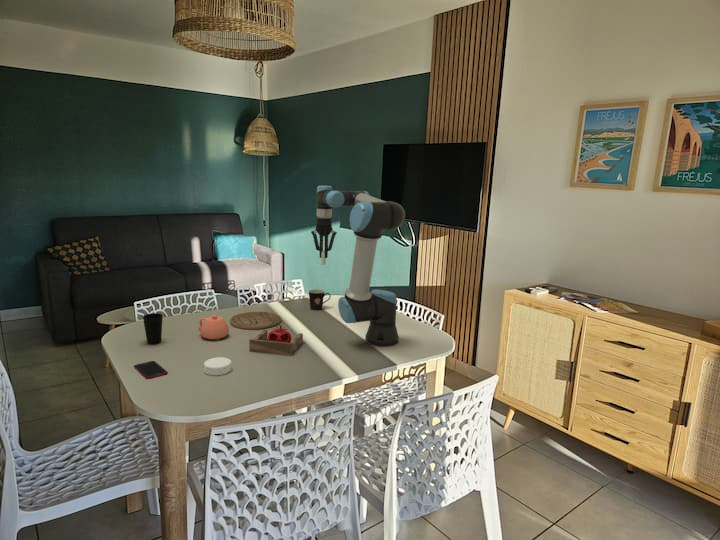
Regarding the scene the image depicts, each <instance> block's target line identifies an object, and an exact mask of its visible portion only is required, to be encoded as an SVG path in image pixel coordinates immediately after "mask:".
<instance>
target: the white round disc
mask: <svg viewBox="0 0 720 540" xmlns="http://www.w3.org/2000/svg"><path fill="white" fill-rule="evenodd" d="M232 369H233V368H232V360H231V359H229V358H227V357H222V356H221V357H213V358H212V357H211V358H209V359H207V360H205V361H204V364H203V371H204V373H205V374H207V375H209V376H224V375H226V374H228V373H230V372H231V371H232Z"/></svg>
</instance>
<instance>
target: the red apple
mask: <svg viewBox="0 0 720 540" xmlns="http://www.w3.org/2000/svg"><path fill="white" fill-rule="evenodd" d="M271 330H272V331H270V332H268V333H267V341H277V342H287V343H291V342H292V334H291V333H290V332H289V331H287V330H288V329H287V328H285V326H283V324H281V325H280V324H279V327H278V326H275V328H272V329H271Z"/></svg>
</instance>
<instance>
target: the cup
mask: <svg viewBox="0 0 720 540" xmlns="http://www.w3.org/2000/svg"><path fill="white" fill-rule="evenodd" d="M142 319H143V324H144V325H143V326H144V331H145V337H146V343H147V345H152V346H154V345H159V344H161V343H162V332H163V314H162V313H157V312H155V313H154V312H152V313H147V314H145V315H142Z"/></svg>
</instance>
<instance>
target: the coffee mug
mask: <svg viewBox="0 0 720 540" xmlns="http://www.w3.org/2000/svg"><path fill="white" fill-rule="evenodd" d="M326 295H329V297H328V298H327V299H326V300H325V301H324V298H325V296H326ZM308 296H309V307H310V308H309V309H310V310H312V311H321V310H322V309H323V306H324V304H325V303H326V302H328V301H329V300H331V297H332V296H331V294H330V293H329V292H325V290H323V289H317V288H316V289H310V290H308Z"/></svg>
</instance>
